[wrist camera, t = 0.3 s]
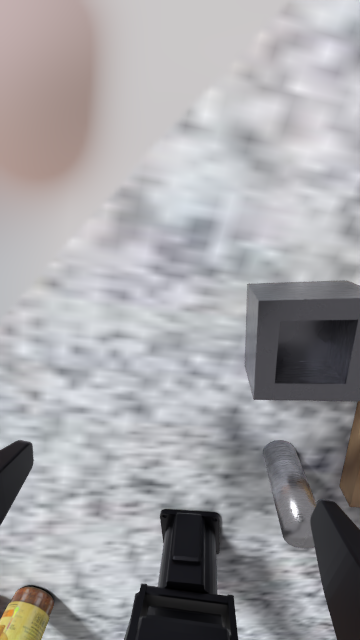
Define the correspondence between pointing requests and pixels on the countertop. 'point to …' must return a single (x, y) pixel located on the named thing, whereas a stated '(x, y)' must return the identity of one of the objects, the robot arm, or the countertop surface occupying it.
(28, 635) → the sauce bottle
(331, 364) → the square hollow tube
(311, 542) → the rounded metal peg
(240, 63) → the countertop surface
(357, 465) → the bay
